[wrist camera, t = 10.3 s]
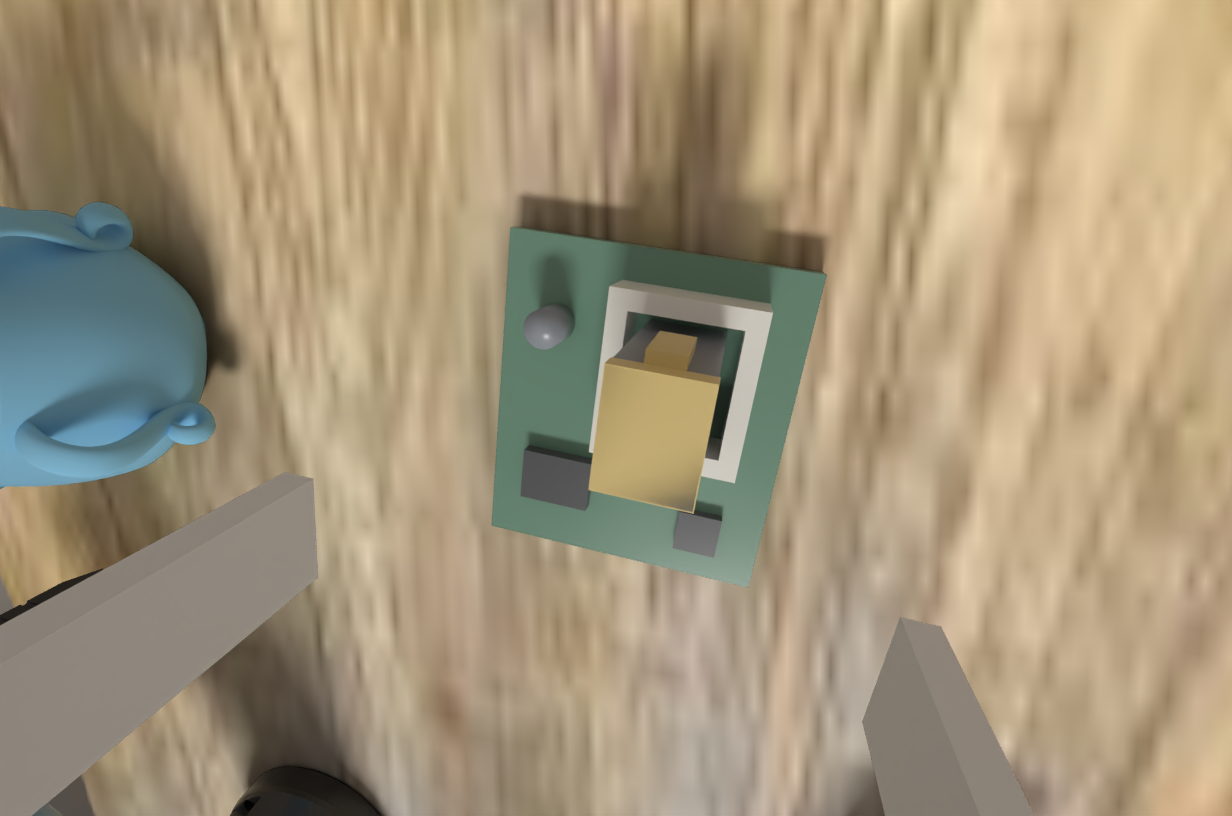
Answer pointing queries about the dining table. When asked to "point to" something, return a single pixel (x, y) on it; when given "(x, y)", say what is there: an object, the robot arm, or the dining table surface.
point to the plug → (657, 415)
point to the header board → (572, 379)
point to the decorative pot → (92, 351)
